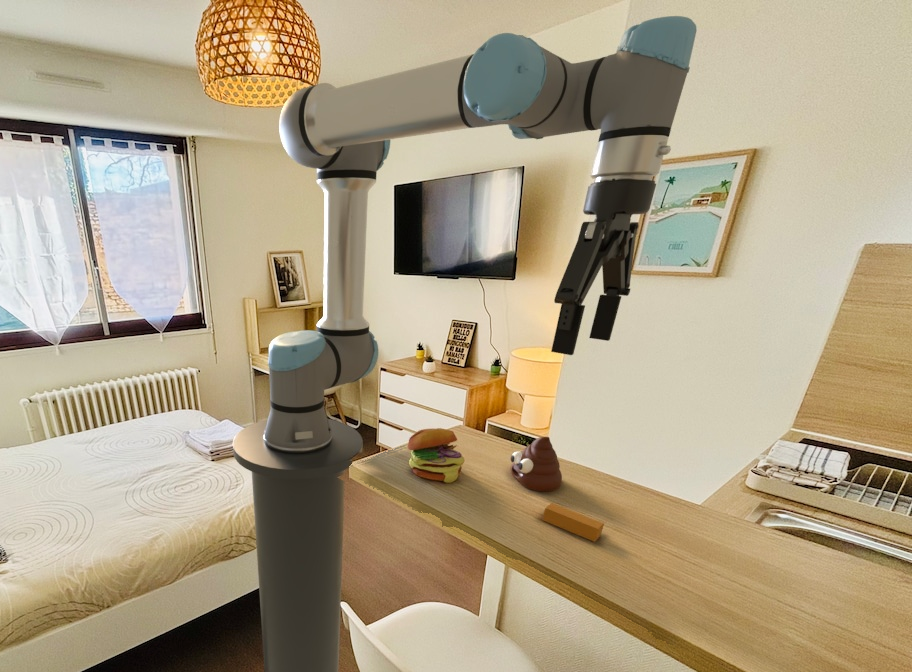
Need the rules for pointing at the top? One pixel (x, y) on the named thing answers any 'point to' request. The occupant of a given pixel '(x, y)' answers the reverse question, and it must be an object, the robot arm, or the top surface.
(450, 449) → the cheeseburger
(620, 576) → the top surface
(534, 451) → the poop emoji
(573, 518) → the ochre stick
